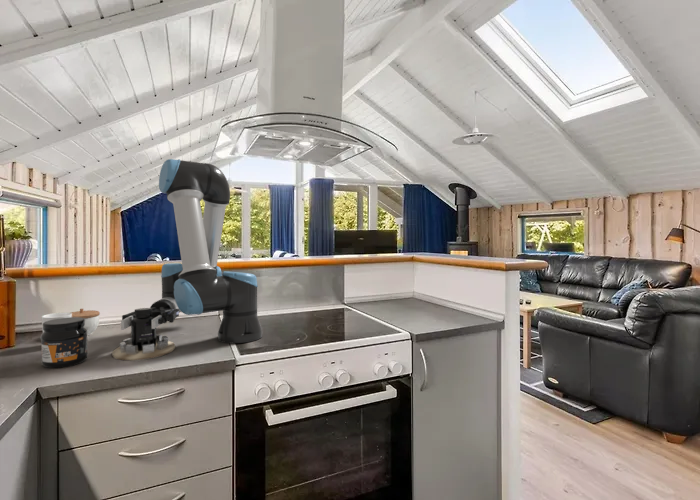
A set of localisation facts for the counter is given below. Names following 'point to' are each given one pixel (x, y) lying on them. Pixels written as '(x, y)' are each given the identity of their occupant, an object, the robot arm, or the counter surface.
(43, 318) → the white cup
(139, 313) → the supplement bottle
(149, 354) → the seat plate
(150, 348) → the castellated ring
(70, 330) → the supplement container
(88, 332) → the lidded jar
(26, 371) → the counter surface
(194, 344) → the counter surface
